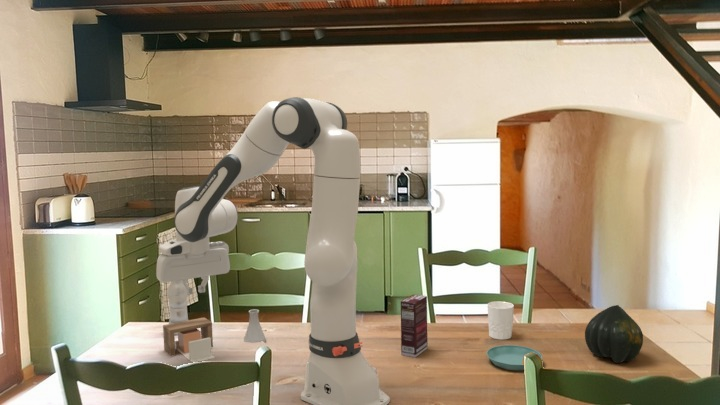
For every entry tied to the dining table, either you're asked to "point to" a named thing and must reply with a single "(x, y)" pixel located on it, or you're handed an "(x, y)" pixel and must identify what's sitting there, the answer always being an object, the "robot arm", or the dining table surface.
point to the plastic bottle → (177, 302)
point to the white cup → (500, 319)
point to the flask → (254, 329)
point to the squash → (614, 335)
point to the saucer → (509, 356)
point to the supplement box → (414, 325)
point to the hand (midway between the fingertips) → (195, 293)
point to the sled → (198, 350)
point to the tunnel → (184, 326)
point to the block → (187, 339)
